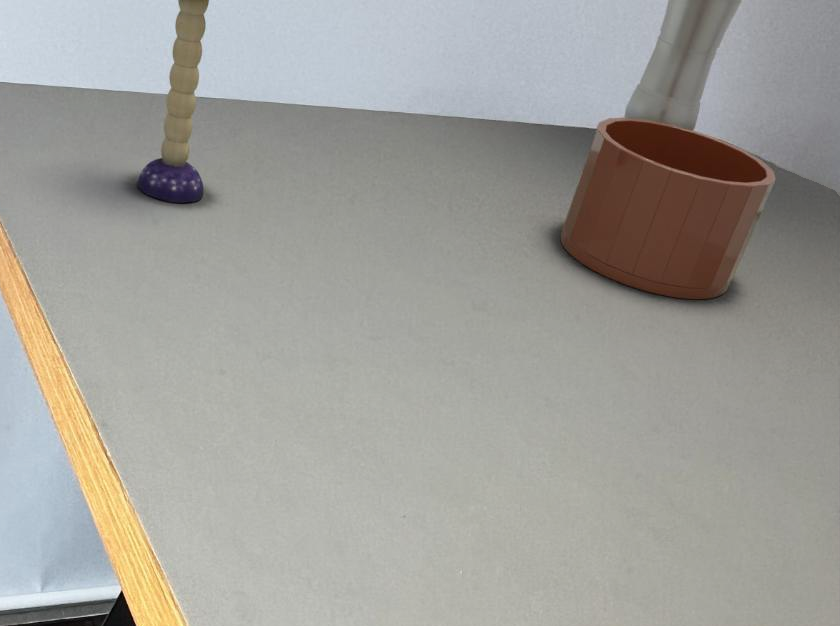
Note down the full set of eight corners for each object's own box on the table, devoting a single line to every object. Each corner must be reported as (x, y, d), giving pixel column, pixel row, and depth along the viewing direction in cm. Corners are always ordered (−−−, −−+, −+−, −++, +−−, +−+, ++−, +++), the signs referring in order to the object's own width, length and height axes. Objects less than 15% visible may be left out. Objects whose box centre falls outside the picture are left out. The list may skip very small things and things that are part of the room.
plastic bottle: (678, 142, 118) (765, -87, 106) (689, 163, 112) (783, -76, 101) (612, 126, 117) (692, -105, 106) (620, 147, 112) (706, -95, 101)
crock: (696, 241, 94) (738, 137, 89) (752, 311, 84) (803, 198, 80) (543, 213, 92) (579, 105, 88) (583, 281, 82) (625, 164, 78)
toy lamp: (177, 210, 78) (221, -78, 68) (114, 186, 79) (149, -101, 69) (214, 193, 81) (260, -83, 72) (153, 170, 83) (191, -104, 73)
